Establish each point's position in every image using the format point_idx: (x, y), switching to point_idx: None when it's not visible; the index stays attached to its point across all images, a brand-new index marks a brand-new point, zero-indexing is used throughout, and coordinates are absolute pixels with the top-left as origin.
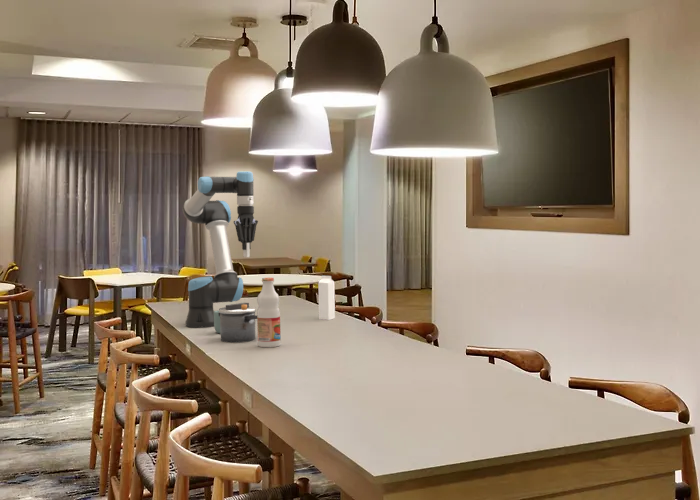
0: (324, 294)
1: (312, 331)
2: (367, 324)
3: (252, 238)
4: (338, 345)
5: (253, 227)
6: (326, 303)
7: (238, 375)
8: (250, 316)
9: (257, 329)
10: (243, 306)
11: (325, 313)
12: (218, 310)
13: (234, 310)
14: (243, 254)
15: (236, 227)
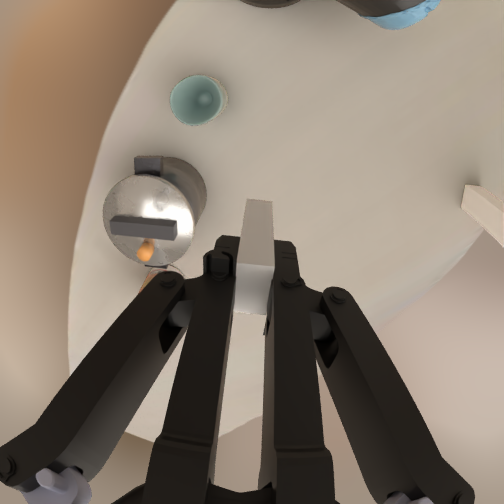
0: (494, 225)
1: (330, 258)
2: (426, 290)
3: (315, 348)
4: (235, 345)
5: (361, 461)
6: (481, 219)
7: (68, 331)
8: (148, 266)
9: (142, 285)
10: (139, 256)
11: (469, 206)
12: (201, 76)
13: (123, 240)
14: (245, 207)
15: (57, 415)
